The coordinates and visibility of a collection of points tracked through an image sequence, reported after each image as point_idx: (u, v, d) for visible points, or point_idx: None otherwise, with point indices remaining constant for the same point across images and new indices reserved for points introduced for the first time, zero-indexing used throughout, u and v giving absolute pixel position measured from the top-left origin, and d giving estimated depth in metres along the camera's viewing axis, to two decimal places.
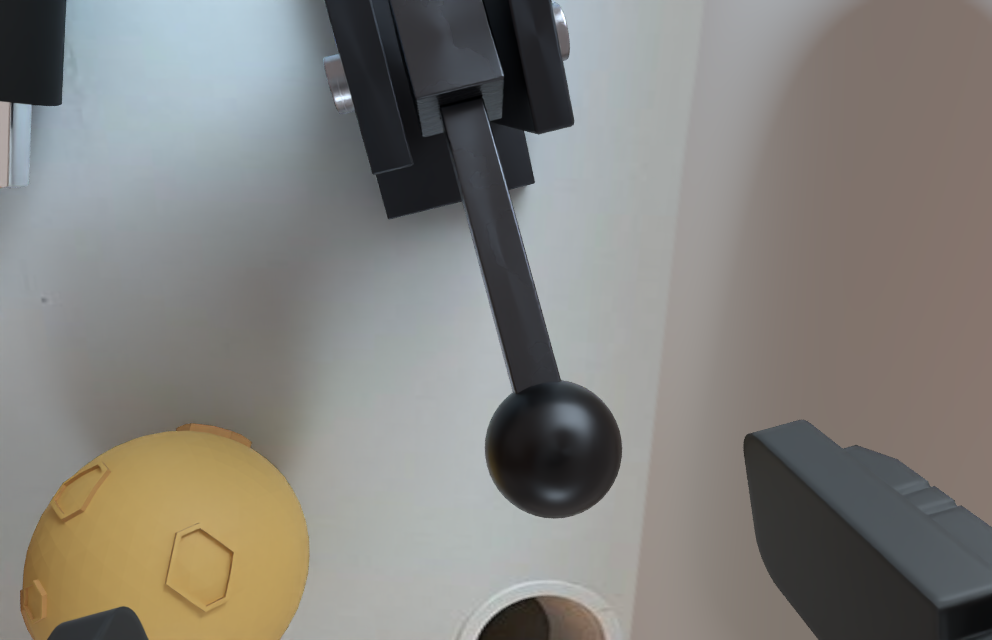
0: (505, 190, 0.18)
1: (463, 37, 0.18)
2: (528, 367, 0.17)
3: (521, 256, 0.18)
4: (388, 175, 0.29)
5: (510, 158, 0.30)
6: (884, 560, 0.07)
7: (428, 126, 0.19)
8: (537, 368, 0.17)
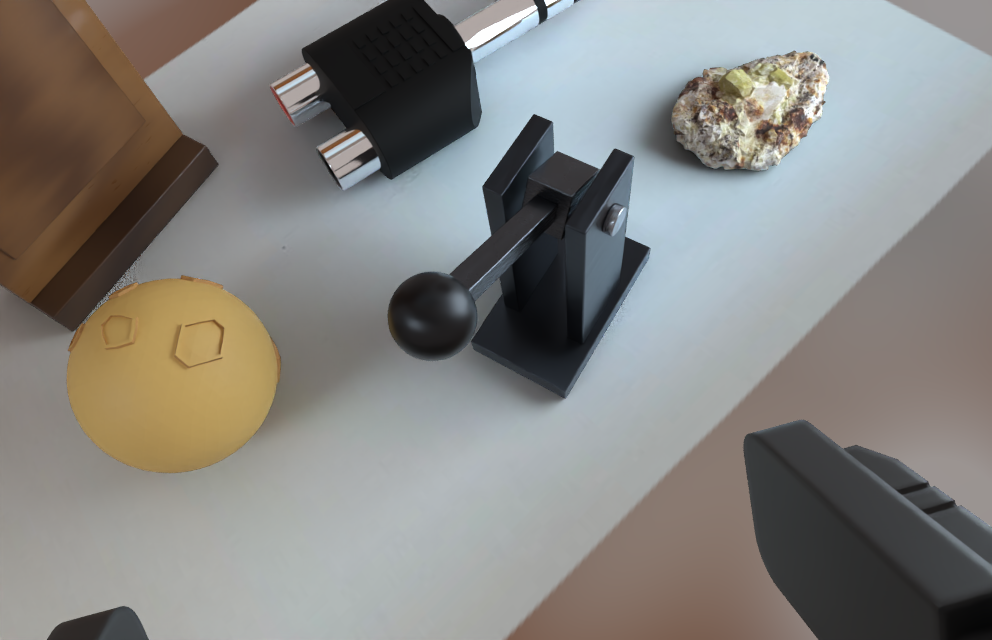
0: (528, 230, 0.31)
1: (570, 177, 0.33)
2: (460, 277, 0.28)
3: (507, 249, 0.30)
4: (493, 320, 0.42)
5: (564, 367, 0.41)
6: (884, 560, 0.07)
7: None
8: (464, 280, 0.28)
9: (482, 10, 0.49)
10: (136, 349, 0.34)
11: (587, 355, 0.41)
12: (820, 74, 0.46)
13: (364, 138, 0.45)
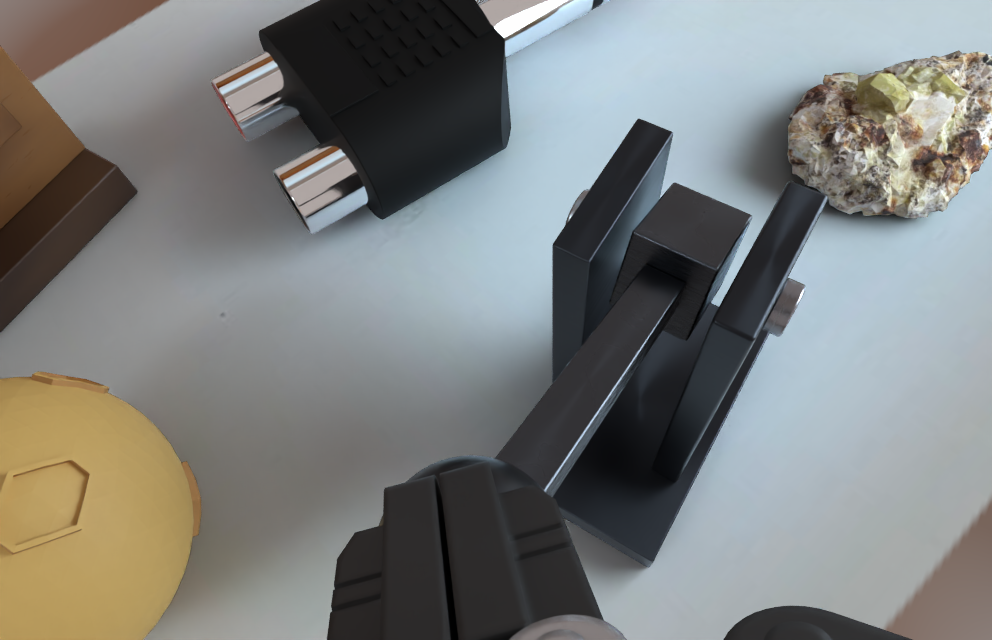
0: (645, 338, 0.16)
1: (707, 232, 0.18)
2: (526, 455, 0.14)
3: (611, 382, 0.15)
4: None
5: (648, 519, 0.26)
6: (457, 599, 0.08)
7: (621, 288, 0.19)
8: (534, 463, 0.13)
9: None
10: None
11: (683, 500, 0.26)
12: None
13: (344, 159, 0.30)
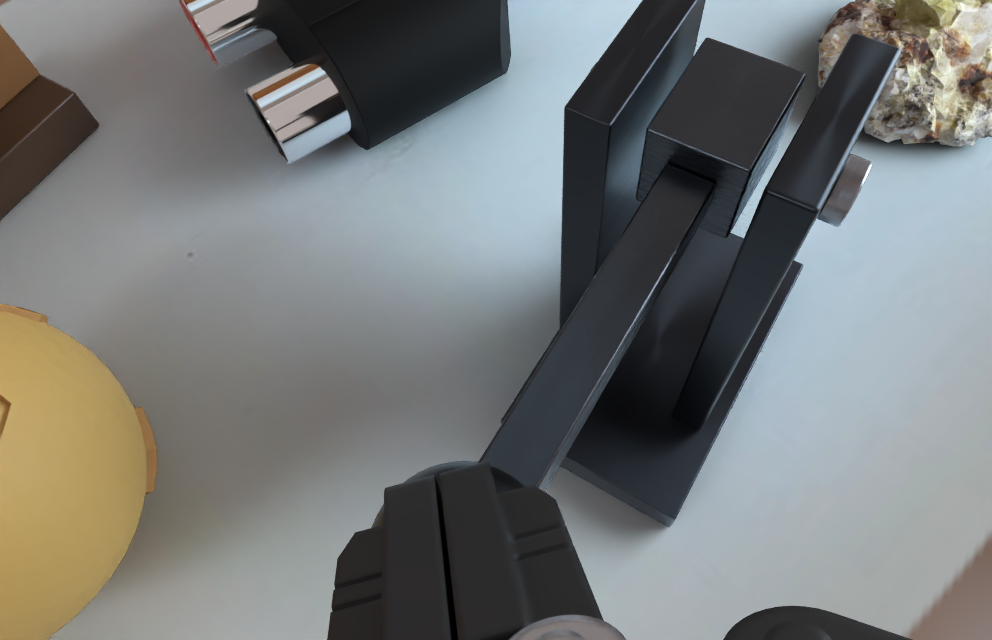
0: (658, 274, 0.14)
1: (742, 113, 0.15)
2: (515, 449, 0.13)
3: (614, 342, 0.14)
4: None
5: (669, 472, 0.23)
6: (457, 599, 0.08)
7: (645, 185, 0.16)
8: (523, 458, 0.13)
9: None
10: None
11: None
12: None
13: (324, 76, 0.27)
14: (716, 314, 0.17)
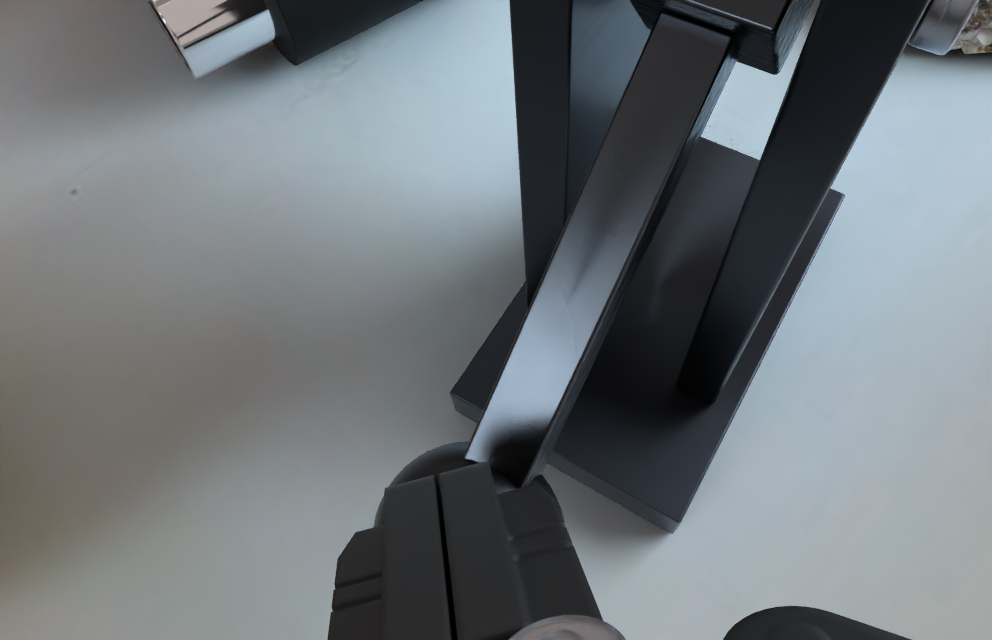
0: (649, 203, 0.11)
1: None
2: (498, 442, 0.12)
3: (597, 308, 0.11)
4: (502, 346, 0.18)
5: (672, 459, 0.17)
6: (457, 599, 0.08)
7: (650, 21, 0.11)
8: (507, 453, 0.12)
9: None
10: None
11: None
12: None
13: None
14: (744, 215, 0.12)
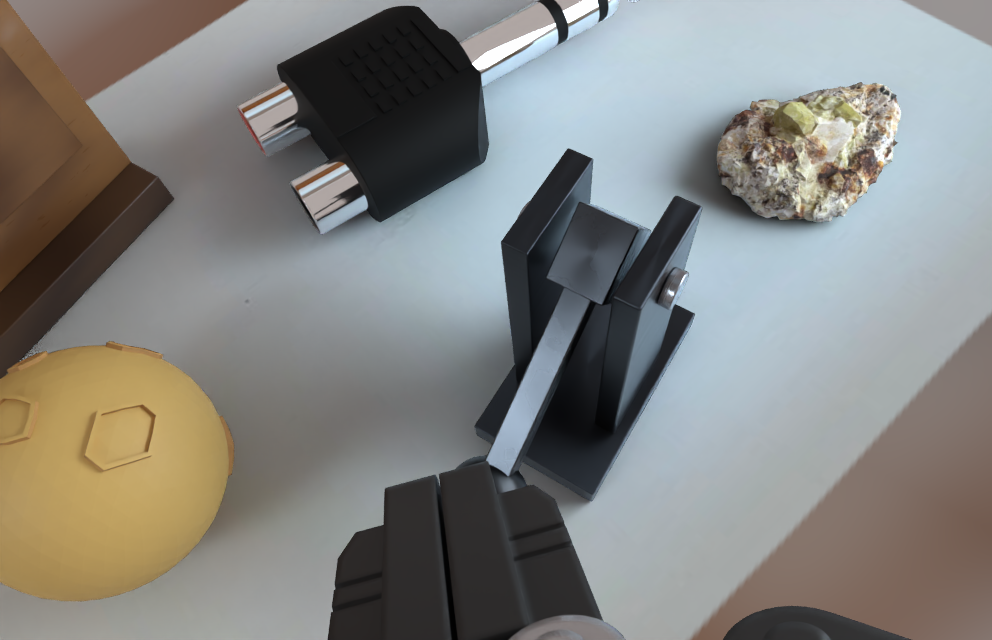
0: (561, 360, 0.26)
1: (598, 263, 0.25)
2: (499, 456, 0.27)
3: (540, 401, 0.26)
4: (502, 400, 0.34)
5: (590, 462, 0.32)
6: (457, 599, 0.08)
7: None
8: (503, 460, 0.27)
9: (492, 26, 0.41)
10: (33, 446, 0.25)
11: (619, 448, 0.33)
12: (892, 110, 0.39)
13: (348, 173, 0.37)
14: (604, 359, 0.27)
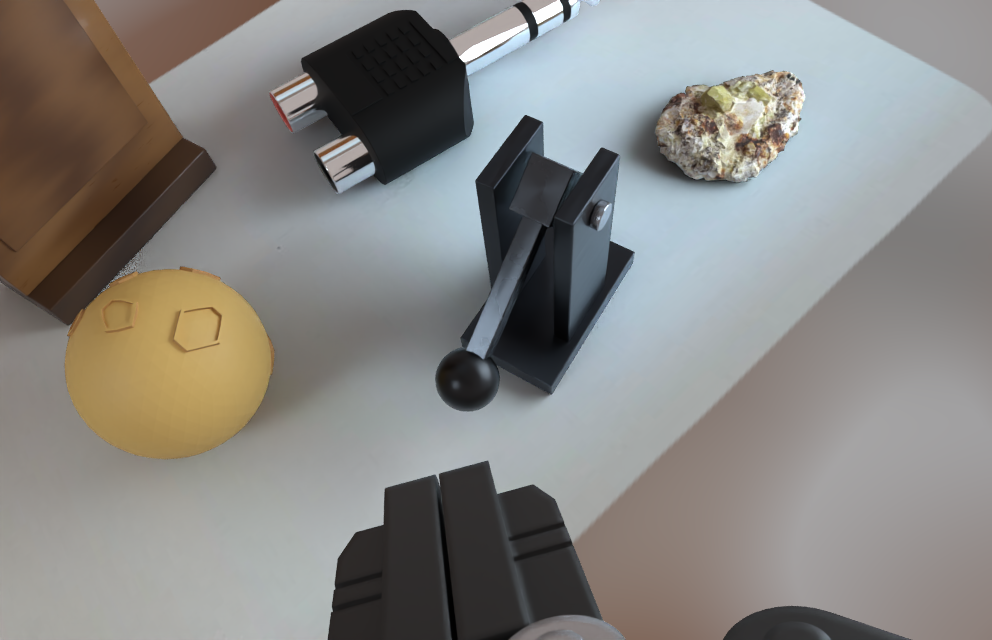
0: (521, 270, 0.36)
1: (546, 196, 0.34)
2: (476, 344, 0.37)
3: (506, 301, 0.36)
4: None
5: (550, 363, 0.42)
6: (457, 599, 0.08)
7: None
8: (479, 347, 0.37)
9: (475, 26, 0.51)
10: (136, 333, 0.35)
11: (573, 352, 0.42)
12: (797, 92, 0.48)
13: (360, 143, 0.47)
14: (554, 272, 0.37)
